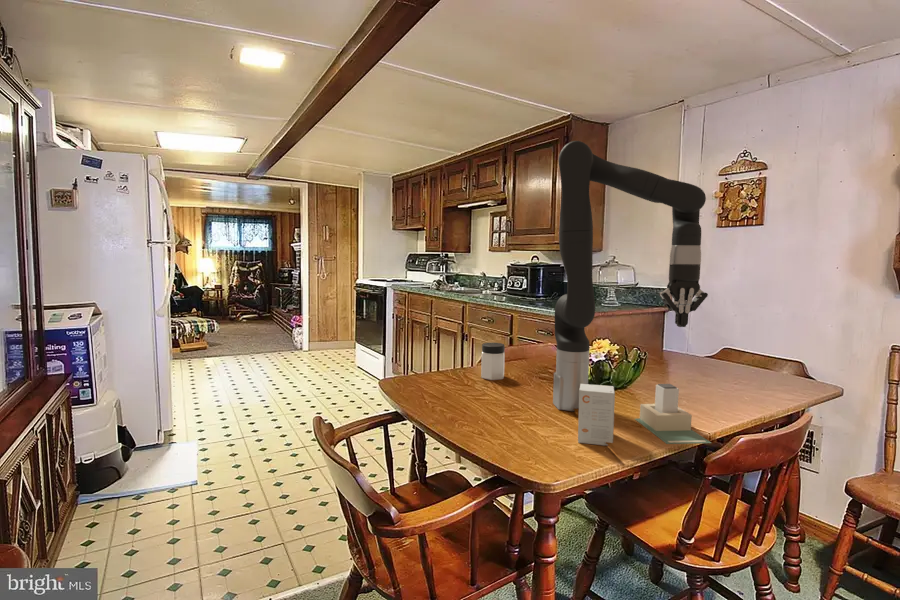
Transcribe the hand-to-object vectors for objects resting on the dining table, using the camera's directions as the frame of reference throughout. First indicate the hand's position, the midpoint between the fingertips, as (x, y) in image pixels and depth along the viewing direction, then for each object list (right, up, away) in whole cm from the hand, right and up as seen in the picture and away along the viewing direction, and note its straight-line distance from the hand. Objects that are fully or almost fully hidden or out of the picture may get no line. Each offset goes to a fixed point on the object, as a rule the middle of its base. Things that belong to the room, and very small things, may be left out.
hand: (681, 326), depth 131 cm
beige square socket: (-7, -25, -6) cm, 27 cm away
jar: (-47, -21, +44) cm, 68 cm away
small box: (-27, -27, -14) cm, 41 cm away
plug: (-7, -25, -6) cm, 27 cm away
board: (-7, -27, -9) cm, 29 cm away
